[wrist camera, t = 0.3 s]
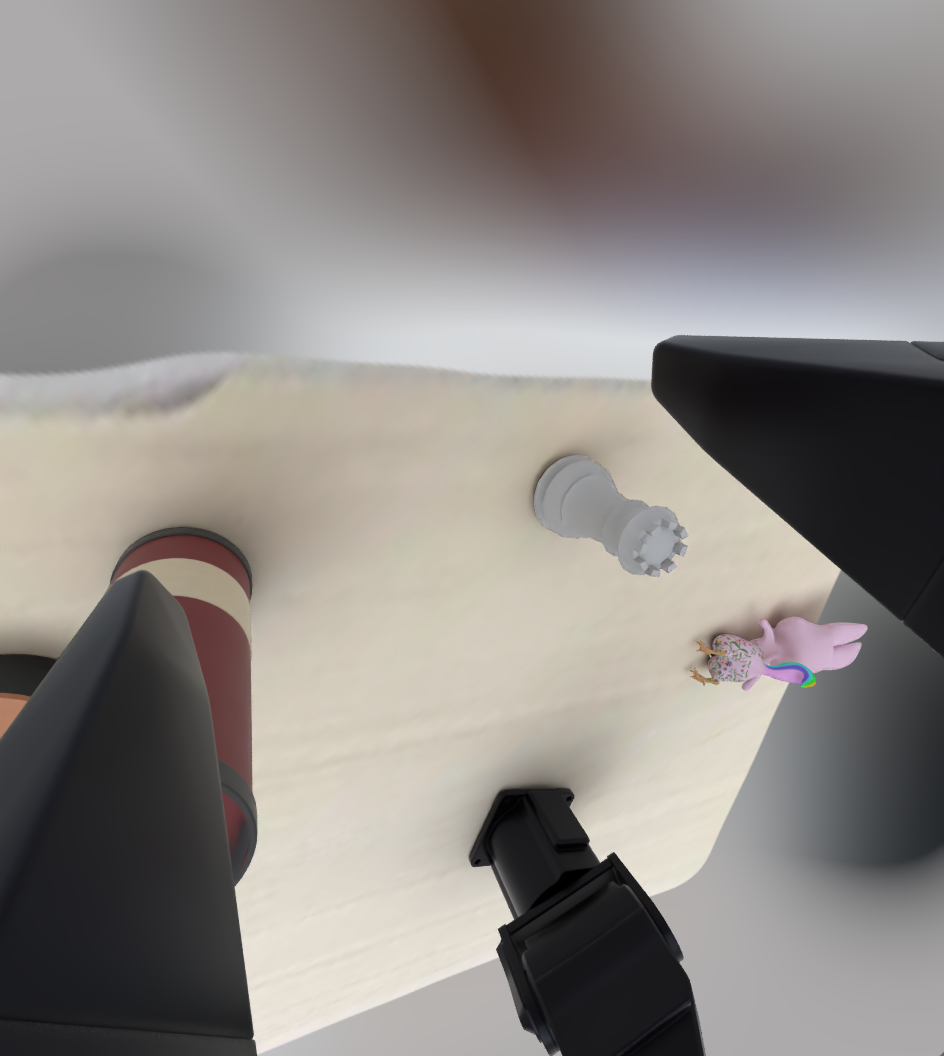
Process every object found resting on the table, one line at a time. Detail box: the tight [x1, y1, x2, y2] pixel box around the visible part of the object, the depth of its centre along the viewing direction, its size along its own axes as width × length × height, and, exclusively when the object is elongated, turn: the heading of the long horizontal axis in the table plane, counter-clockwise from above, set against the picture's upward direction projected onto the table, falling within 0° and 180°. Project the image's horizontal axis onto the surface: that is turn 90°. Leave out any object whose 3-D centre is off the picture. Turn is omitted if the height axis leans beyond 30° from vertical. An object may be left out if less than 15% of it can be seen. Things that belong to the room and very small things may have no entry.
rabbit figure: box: [689, 616, 867, 691], centre depth 38 cm, size 6×6×15 cm
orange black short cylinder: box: [0, 654, 57, 738], centre depth 21 cm, size 8×8×3 cm
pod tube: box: [104, 527, 257, 887], centre depth 17 cm, size 5×5×14 cm
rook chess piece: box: [534, 455, 688, 577], centre depth 25 cm, size 4×4×8 cm
